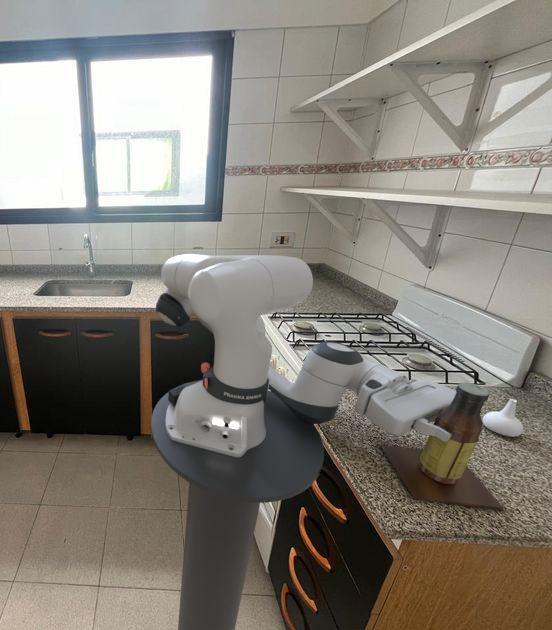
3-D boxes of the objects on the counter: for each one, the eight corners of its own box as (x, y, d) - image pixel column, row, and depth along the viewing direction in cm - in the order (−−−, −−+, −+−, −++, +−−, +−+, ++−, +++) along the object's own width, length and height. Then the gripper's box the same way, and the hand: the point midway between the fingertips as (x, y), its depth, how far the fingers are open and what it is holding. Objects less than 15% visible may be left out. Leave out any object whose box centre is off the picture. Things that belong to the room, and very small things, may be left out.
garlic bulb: (490, 436, 77) (505, 407, 73) (474, 418, 82) (487, 390, 79) (526, 442, 75) (543, 413, 72) (507, 423, 80) (522, 395, 77)
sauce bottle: (451, 466, 68) (494, 383, 60) (463, 491, 63) (512, 404, 55) (411, 455, 71) (447, 374, 63) (420, 479, 66) (460, 394, 58)
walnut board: (413, 498, 63) (414, 496, 62) (380, 447, 74) (381, 445, 74) (502, 510, 60) (504, 508, 60) (454, 455, 72) (455, 453, 72)
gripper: (412, 390, 78) (488, 429, 67) (348, 413, 71) (421, 462, 60) (421, 366, 76) (502, 403, 64) (356, 388, 69) (434, 434, 57)
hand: (463, 432), depth 62 cm, fingers closed on sauce bottle, 6 cm apart
